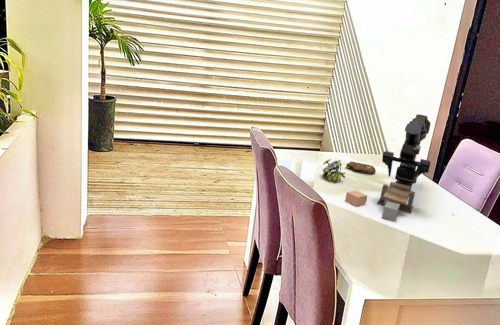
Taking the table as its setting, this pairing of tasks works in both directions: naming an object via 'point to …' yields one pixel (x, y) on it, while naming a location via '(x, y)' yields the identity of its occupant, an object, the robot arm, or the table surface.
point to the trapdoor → (397, 193)
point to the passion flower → (334, 167)
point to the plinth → (356, 198)
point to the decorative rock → (361, 167)
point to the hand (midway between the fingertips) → (400, 179)
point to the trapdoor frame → (402, 207)
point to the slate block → (390, 211)
